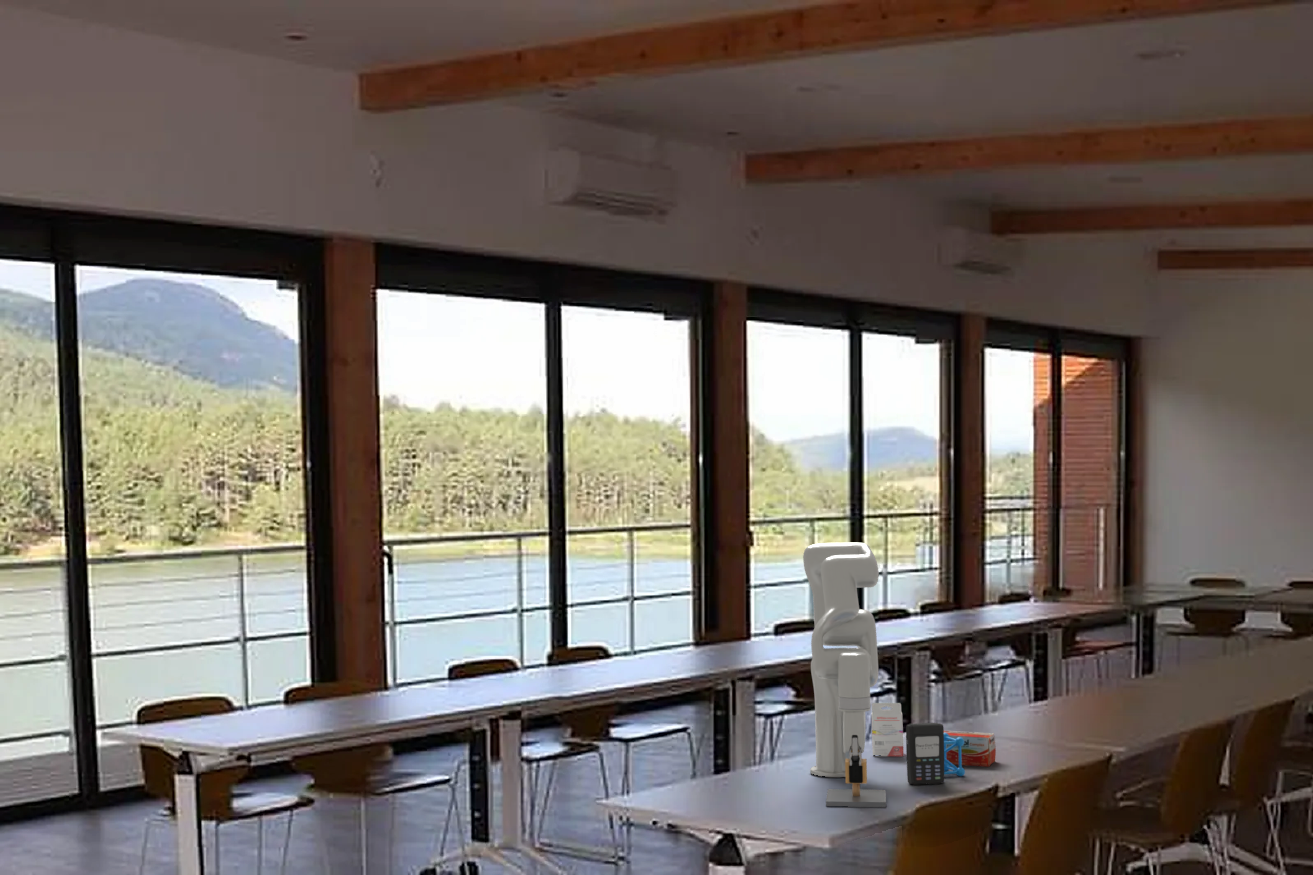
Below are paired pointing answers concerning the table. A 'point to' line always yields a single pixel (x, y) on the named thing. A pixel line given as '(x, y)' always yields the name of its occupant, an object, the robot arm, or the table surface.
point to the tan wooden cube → (864, 764)
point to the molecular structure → (959, 743)
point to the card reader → (925, 753)
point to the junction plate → (856, 797)
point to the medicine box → (972, 749)
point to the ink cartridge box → (887, 729)
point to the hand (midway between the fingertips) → (856, 779)
